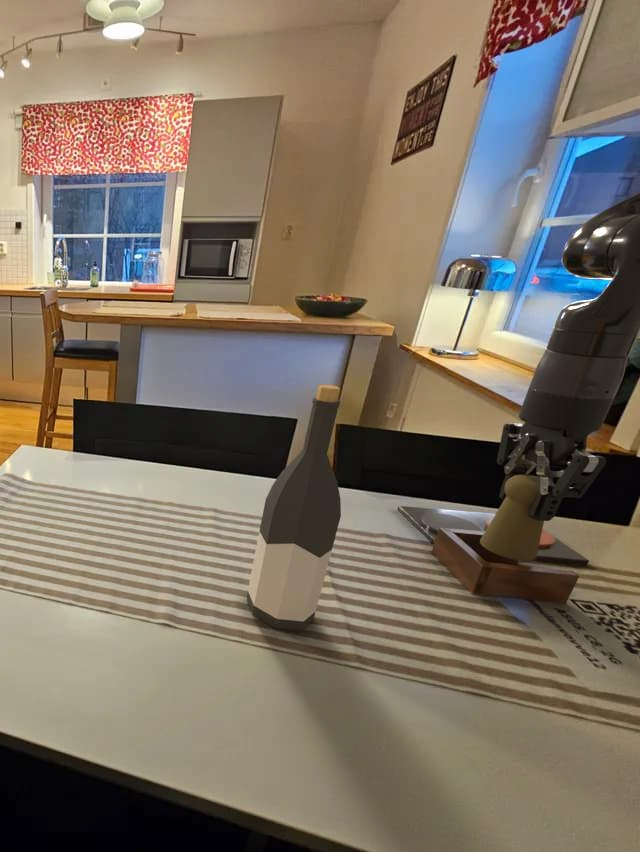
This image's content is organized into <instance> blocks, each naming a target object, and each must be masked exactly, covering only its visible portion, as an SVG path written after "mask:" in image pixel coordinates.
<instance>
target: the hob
mask: <svg viewBox="0 0 640 852" xmlns="http://www.w3.org/2000/svg"><path fill="white" fill-rule="evenodd" d="M397 511H398V512H399V513H400V514H401V515H402V516H403V517H404V518H406V519H407V520H408V521H409V522H410V523H411V525H413V526H414V527H415V529H416V530H418V532H420V533H421V534H422V535H423V536H424V537H425V538H426V539H427V540H428V541H429V542H430V543H432V545H434V542H435V539H436V536H437V534H438V531H439V528H449V529H460V530H471V531H483V532H485V531H486V529H487V528H488V526H489V524H490V523H491V521H492V519H493V518H494V516H495V515H496V513H491V512H489V513H488V512H477V511H468V510H467V511H465V510H453V509H444V508H443V509H442V508H428V507H418V506H407V505H406V506H405V505H398V506H397ZM533 561H545V562H554V563H565V564H576V565H585V566H588V564H589V562H590V560H589V559H588V558H586V557H585V556H584V555H582V554H580V553H579V552H577V551H576V550H575V549H573V548H571V547H570V546H569V545H566V543H564V542H562V541H561V540H560V539H558V538H556V537H555V536H553V535H552V534H551V533H549V532H548V531H546V530H545V529H544V528H542V533H541V538H540V543H539V548H538V552H537V557H536V559H534V560H533Z"/></svg>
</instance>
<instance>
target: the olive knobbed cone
mask: <svg viewBox="0 0 640 852" xmlns="http://www.w3.org/2000/svg"><path fill="white" fill-rule="evenodd" d="M555 485H556V483H554V482H553V481H552V486H555ZM538 492H539V493H540V477H539V476H538V475H531V474H528V475H515V476H513V477H511V478H510V479H508V481H507V482H506V484H505V494H506V498H505V500H503V501H502V503H501V504H500V506H499V508H498V510H497V511H496V513H495V514H496V515H495V516H494V518H493V519H492V521H491V523H490V524H489V526H488V528H487V529H486V531H485V533H484V534H483V536H482V538H481V539H480V543H481V545H482V546H483V547H485V548H486V549H487V550H489V551H491V552H493V553H495V554H498V555H500V556H503V557H507V558H510V559H515V560H519V561H521V562H522V561H523V562H530V561H535V560H534V559H536V557H537V552H538V548H539V543H540V538H541V533H542V529H544V523H545V521H540V520H534V519H532V518H531V517H529V513H530V511H531V508H532V506H533V503H534V501H535V498H536V496H537V493H538Z"/></svg>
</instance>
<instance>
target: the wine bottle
mask: <svg viewBox="0 0 640 852" xmlns="http://www.w3.org/2000/svg"><path fill="white" fill-rule="evenodd" d="M340 393H341V388H340V387H339V386H337V385H334V384H333V385H332V384H320V385H318V387H317V391H316V396H315V397H313V398H312V401H311V404H312V406H311V410H310V414H309V419H308V425H307V427H306V433H305V438H304V442H303V447H302V449H301V450H300V452H299V453H298V454H297V455H296V456H295V457H294V459H292V460H291V462H290V463H288V465H286V466H285V468H283V470H282V471H281V472H280V474H279V475H278V477H277V478H276V480H274V482H273V484H272V485H271V487H270V490H269V491H268V493H267V496H266V498H265V501H264V506H263V511H262V517H261V522H260V527H259V531H258V537H257V542H256V546H255V552H254V556H253V562H252V568H251V572H250V577H249V583H248V587H247V592H246V602H247V604H248V607H249V610H250V612H251V615H252V616H253V617H255V618H257V619H258V620H260V621H261V622H263V623H264V624H267V625H269V626H271V627H272V628H274V629H277V630H288V631H298V632H301V631H302V630H303V629H304V628H305V627H307V626H308V625H309V624H310V623H311V622H313V620H314V618H315V615H316V611H317V608H318V604H319V600H320V597H321V593H322V590H323V586H324V582H325V579H326V574H327V571H328V566H329V563H330V558H331V555H332V550H333V547H334V543H335V540H336V535H337V532H338V528H339V524H340V520H341V517H342V509H341V507H342V506H341V505H342V504H341V503H342V502H341V495H340V489H339V483H338V480H337V477H336V474H335V473H334V470H333V467H332V465H331V461H330V459H329V456H328V450H329V447H330V443H331V439H332V435H333V430H334V425H335V421H336V418H337V413H338V409H339V407H340V404H341V400H339V398H340V397H339V396H340Z"/></svg>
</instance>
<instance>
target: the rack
mask: <svg viewBox="0 0 640 852" xmlns="http://www.w3.org/2000/svg"><path fill="white" fill-rule="evenodd" d="M484 533H485V532H483V531H471V530H460V529H449V528H439V531H438V534H437V536H436V539H435V542H434V544H432V548H431V550H430V553H431V554H432V555H433V556H434V557H435V558H436V559H437V560H438V561H439V562H440V563H441V564H442V565H443V566H444V567H445V568H446V569H447V570H448V572H449V573H451V574H452V575H453V576H454V577H455V578H456V579H457V580H458V581H459V583H461V584H462V585H463V586H464V587H465V588H466V589H467V590H468V591H469V592H470V593H471V594H473V595H482V596H491V597H501V598H509V599H510V598H511V599H520V600H529V601H539V602H548V603H556V604H557V603H558V604H564V605H565V604H567V603H568V600H569V599H570V596H571V595H572V592H573V590H574V588H575V586H576V584H577V582H578V580H579V578H580V575H579V574H578V573H576V572H575V571H573V570H570V569H561V568H560V569H559V568H550V567H549V568H548V567H540V566H539V567H538V566H529V565H519V562H520V560H515V559H510V558H507V557H503V556H500V555H498V554H495V553H493V552H491V551H489V550H487V549H486V548H485V547H483V546H482V545H481V543H480V539H481V538H482V536H483V534H484Z"/></svg>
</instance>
